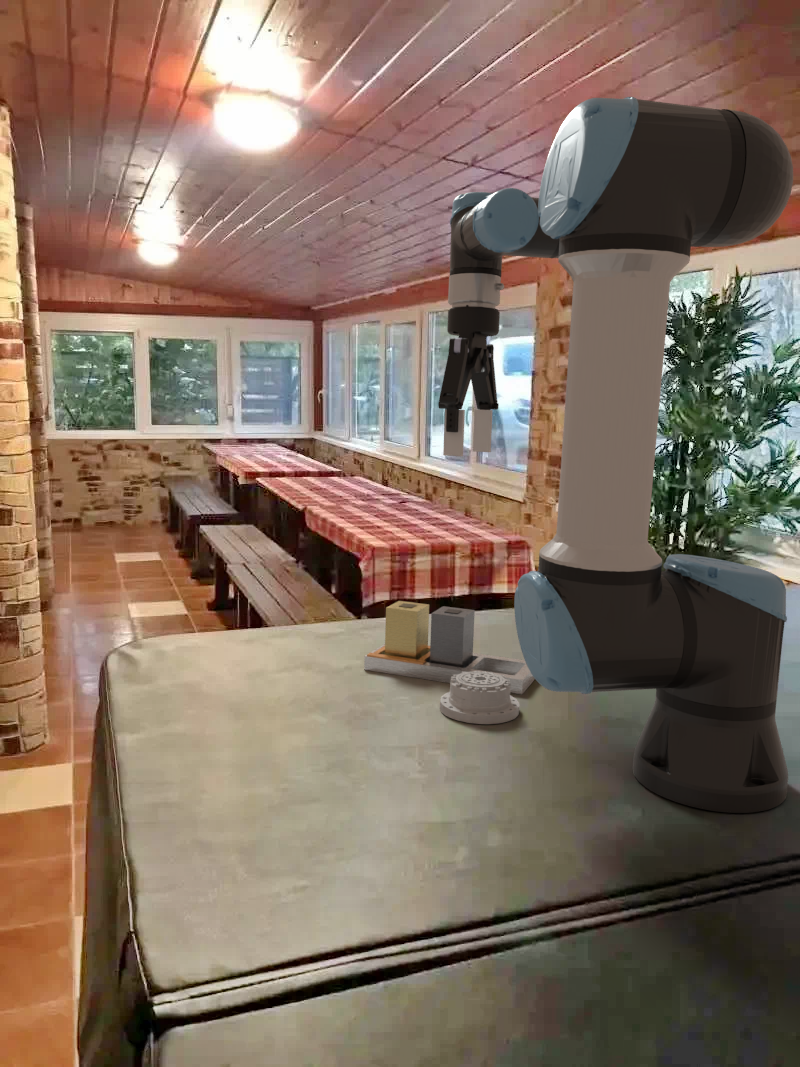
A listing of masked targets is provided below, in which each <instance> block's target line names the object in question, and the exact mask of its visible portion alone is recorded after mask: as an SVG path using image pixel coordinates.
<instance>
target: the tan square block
mask: <svg viewBox="0 0 800 1067" xmlns="http://www.w3.org/2000/svg"><path fill="white" fill-rule="evenodd" d="M429 618H430V604H429V603H428V604H427V603H418V602H413V601H404V600H398V601H395V602H394V603H392V604H390V605H389V606H386V607H385V631H384V632H385V633H384V634H385V635H384V644H385V655H390V656H397V657H404V658H410V659H417V660H418V659H420V658H421V657H423V656H424V655H425V654H427V653H428V646H429V625H430V624H429V623H430V622H429V621H430V619H429Z"/></svg>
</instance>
